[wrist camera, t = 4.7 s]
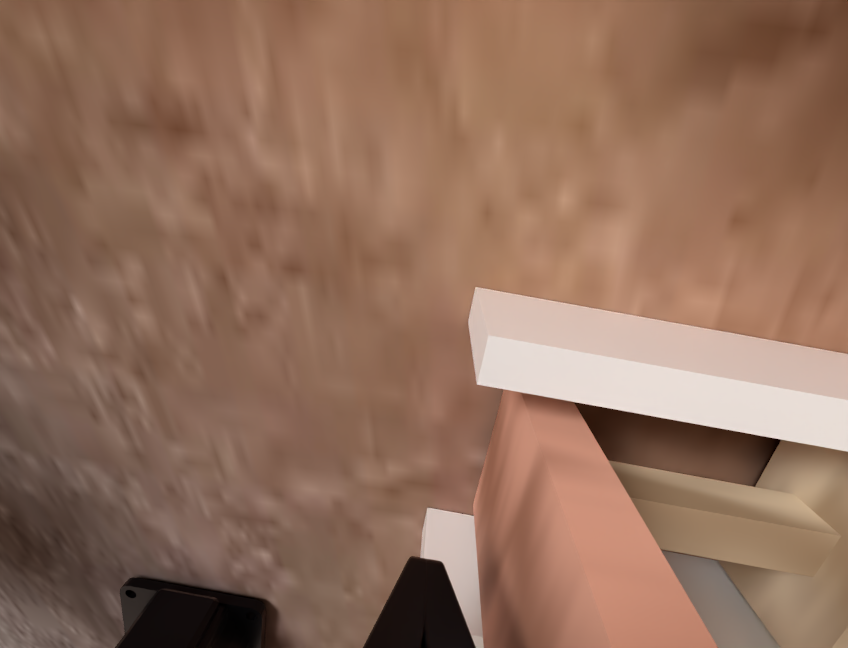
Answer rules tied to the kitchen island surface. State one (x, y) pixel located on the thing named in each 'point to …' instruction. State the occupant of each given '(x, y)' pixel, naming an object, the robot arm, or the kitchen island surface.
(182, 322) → the kitchen island surface
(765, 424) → the channel
